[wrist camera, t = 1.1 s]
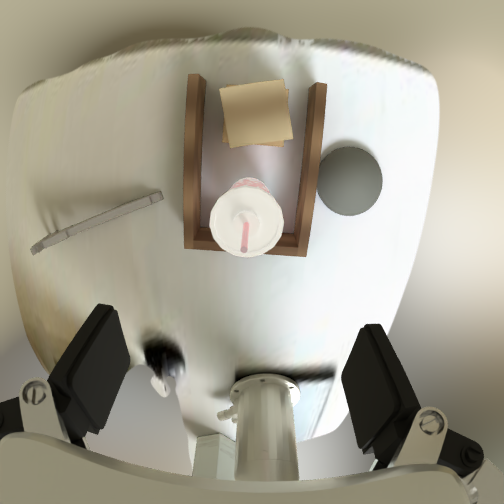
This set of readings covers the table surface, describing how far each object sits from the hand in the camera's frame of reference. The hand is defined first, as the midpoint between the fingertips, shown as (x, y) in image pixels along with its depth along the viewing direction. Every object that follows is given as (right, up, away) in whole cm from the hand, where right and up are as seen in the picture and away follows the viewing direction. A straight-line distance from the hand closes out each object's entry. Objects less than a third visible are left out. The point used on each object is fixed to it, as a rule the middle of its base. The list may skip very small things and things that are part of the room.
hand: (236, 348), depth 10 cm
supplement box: (-8, -42, +46) cm, 63 cm away
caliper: (-20, +8, +22) cm, 31 cm away
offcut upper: (+1, +17, +15) cm, 22 cm away
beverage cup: (0, +10, +21) cm, 23 cm away
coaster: (+12, +12, +20) cm, 26 cm away
